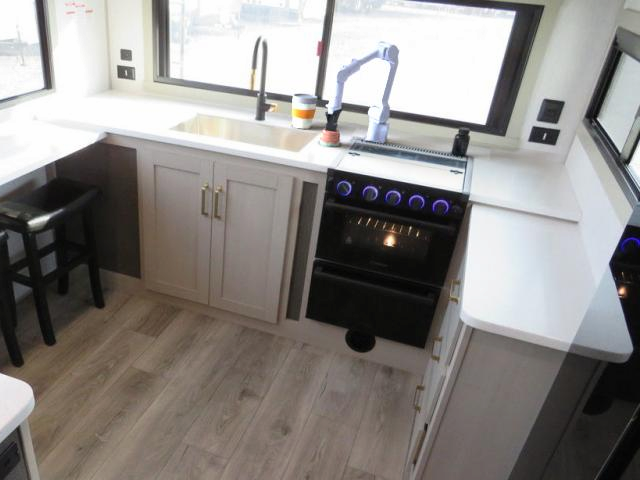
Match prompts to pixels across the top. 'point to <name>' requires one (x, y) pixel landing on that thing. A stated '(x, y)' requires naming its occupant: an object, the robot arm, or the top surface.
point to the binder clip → (332, 128)
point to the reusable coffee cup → (303, 110)
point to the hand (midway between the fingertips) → (331, 126)
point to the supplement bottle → (461, 142)
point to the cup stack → (330, 138)
